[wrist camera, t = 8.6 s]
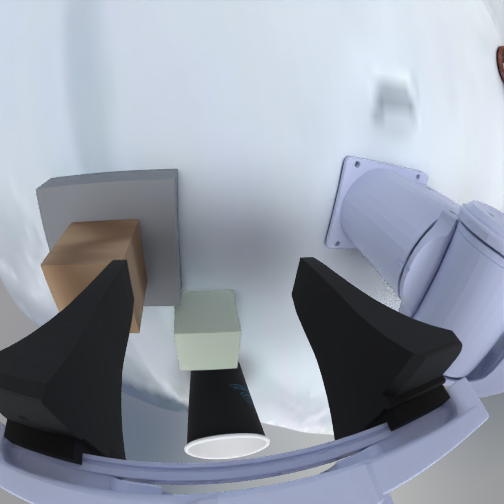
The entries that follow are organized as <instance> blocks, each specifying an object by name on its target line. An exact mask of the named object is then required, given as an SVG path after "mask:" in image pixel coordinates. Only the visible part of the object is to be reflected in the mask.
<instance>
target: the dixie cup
mask: <svg viewBox="0 0 504 504" xmlns="http://www.w3.org/2000/svg"><path fill="white" fill-rule="evenodd" d="M269 443H270V440H269V438H268V437H266V436H265V434H264V431H263V428H262V426H261V423H260V420H259V418H258V415H257V412H256V409H255V407H254V404H253V401H252V398H251V396H250V393H249V390H248V387H247V384H246V381H245V378H244V376H243V373H242V370H241V367H240V364H239V362H238V366H237V368H231V369H214V370H191V378H190V394H189V411H188V434H187V445H186V446H185V448H184V450H185V452H186V453H187V454H189V455H191V456H194V457H198V458H206V459H228V458H236V457H241V456H245V455H250V454H253V453H256V452H258V451H261V450H263V449H264V448H266V447H267V446H268V445H269Z"/></svg>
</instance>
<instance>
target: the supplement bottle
mask: <svg viewBox="0 0 504 504" xmlns="http://www.w3.org/2000/svg"><path fill="white" fill-rule="evenodd" d="M498 66H499V70H500V74H501V76H502V79H503V80H504V46H501V47H500V48H499V51H498Z"/></svg>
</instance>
